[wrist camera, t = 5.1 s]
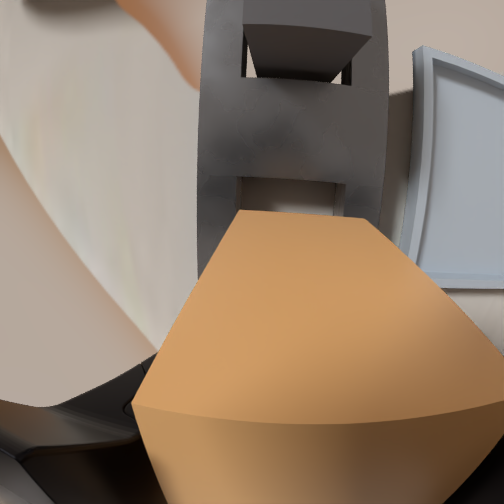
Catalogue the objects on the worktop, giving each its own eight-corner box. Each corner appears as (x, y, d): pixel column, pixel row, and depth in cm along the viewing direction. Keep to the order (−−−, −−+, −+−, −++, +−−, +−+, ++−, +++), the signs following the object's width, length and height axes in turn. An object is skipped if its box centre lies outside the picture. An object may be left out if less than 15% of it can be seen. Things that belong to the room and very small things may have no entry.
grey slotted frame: (345, 330, 20) (353, 353, 17) (208, 322, 20) (200, 344, 18) (367, -33, 12) (377, -52, 9) (221, -44, 12) (214, -65, 10)
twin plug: (330, 82, 15) (372, 36, 7) (257, 77, 15) (242, 23, 8) (329, -5, 13) (359, -83, 5) (261, -11, 13) (250, -93, 6)
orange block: (336, 368, 11) (369, 560, 4) (235, 363, 12) (197, 560, 4) (364, 218, 10) (531, 391, 2) (239, 209, 10) (130, 402, 2)
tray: (518, 281, 17) (528, 288, 16) (393, 276, 18) (401, 286, 17) (540, 103, 13) (552, 103, 12) (412, 51, 14) (422, 45, 12)
